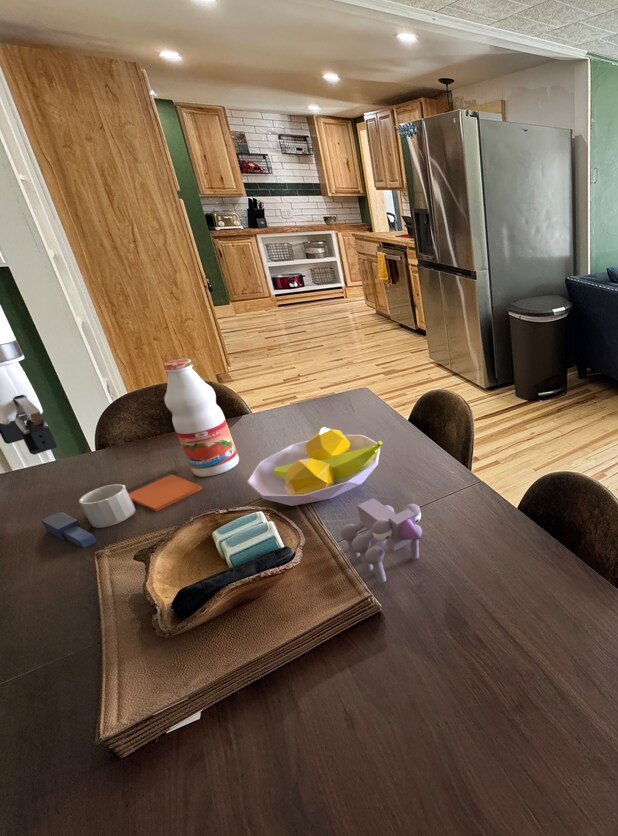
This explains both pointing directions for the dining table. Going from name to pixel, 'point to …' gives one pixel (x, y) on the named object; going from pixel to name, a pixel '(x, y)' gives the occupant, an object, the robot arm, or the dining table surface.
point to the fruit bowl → (316, 468)
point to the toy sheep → (382, 533)
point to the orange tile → (164, 492)
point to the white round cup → (107, 505)
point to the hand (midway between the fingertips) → (31, 445)
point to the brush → (68, 529)
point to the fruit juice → (198, 421)
